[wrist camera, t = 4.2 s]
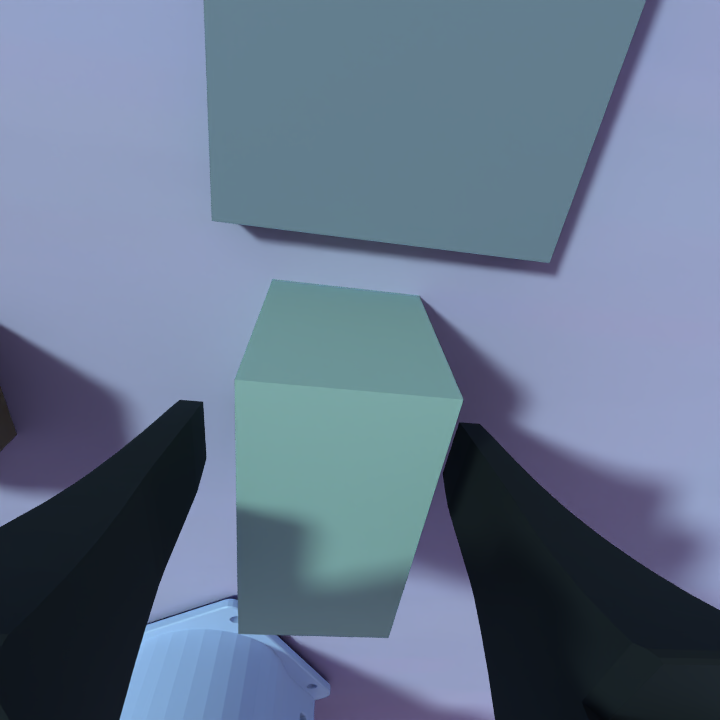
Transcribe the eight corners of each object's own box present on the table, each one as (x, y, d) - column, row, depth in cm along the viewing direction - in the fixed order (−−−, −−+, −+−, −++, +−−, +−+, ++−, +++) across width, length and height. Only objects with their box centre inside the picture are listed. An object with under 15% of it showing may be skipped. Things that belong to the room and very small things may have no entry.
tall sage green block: (273, 277, 12) (234, 380, 7) (418, 293, 12) (463, 399, 8) (265, 487, 16) (238, 634, 11) (374, 494, 16) (388, 638, 12)
